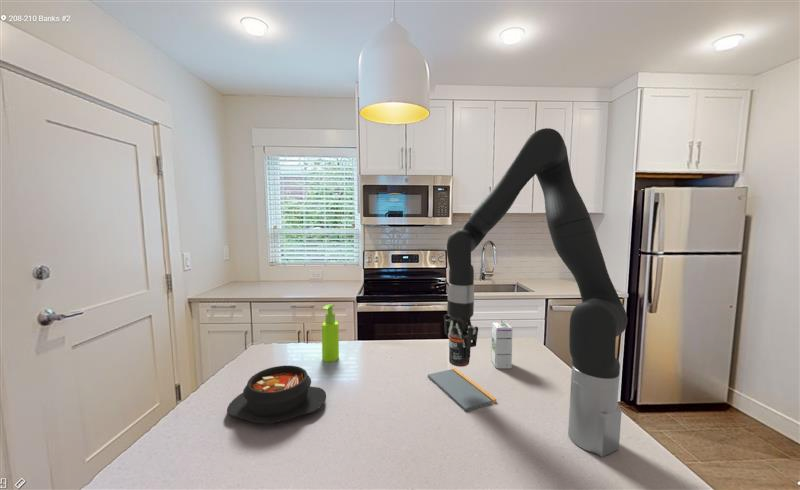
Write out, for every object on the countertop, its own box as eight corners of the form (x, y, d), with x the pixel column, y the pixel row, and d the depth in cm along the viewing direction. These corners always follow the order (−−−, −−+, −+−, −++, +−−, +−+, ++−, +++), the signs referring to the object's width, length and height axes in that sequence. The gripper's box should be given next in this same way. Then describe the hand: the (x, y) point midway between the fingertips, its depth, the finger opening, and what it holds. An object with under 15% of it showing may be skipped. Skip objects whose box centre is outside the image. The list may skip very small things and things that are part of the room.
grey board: (496, 401, 88) (496, 398, 88) (465, 411, 84) (465, 408, 84) (454, 370, 106) (455, 368, 106) (427, 376, 102) (427, 374, 102)
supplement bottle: (468, 359, 96) (469, 322, 95) (470, 368, 90) (471, 329, 89) (448, 357, 96) (449, 321, 95) (449, 367, 90) (450, 328, 89)
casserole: (330, 387, 95) (330, 360, 94) (320, 428, 77) (319, 395, 76) (244, 390, 93) (243, 363, 92) (212, 433, 74) (211, 399, 74)
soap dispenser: (317, 361, 112) (316, 306, 110) (327, 353, 119) (327, 301, 117) (332, 364, 110) (331, 308, 109) (341, 355, 117) (341, 303, 115)
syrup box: (512, 368, 108) (513, 327, 107) (494, 368, 108) (496, 327, 107) (506, 361, 114) (508, 322, 112) (490, 361, 114) (491, 321, 113)
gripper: (487, 303, 86) (485, 362, 88) (457, 292, 99) (455, 343, 101) (464, 306, 83) (463, 367, 85) (436, 294, 96) (435, 347, 98)
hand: (459, 354), depth 93 cm, fingers closed on supplement bottle, 6 cm apart
